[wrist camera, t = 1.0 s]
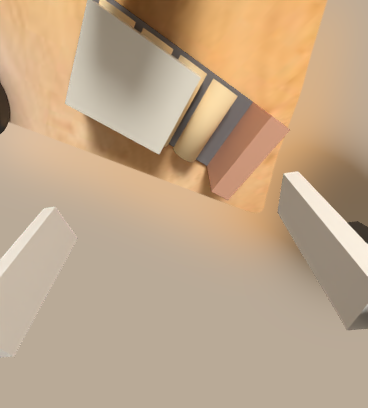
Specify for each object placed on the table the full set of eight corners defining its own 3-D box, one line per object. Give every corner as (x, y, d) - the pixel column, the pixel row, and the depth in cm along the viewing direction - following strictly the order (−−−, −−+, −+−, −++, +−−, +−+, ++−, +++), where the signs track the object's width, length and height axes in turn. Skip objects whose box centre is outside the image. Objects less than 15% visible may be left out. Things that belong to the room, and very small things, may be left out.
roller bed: (70, 87, 30) (54, 91, 26) (93, -15, 24) (75, -28, 20) (220, 172, 38) (223, 184, 34) (266, 112, 32) (277, 120, 28)
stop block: (206, 164, 37) (211, 191, 30) (251, 101, 31) (271, 116, 23) (220, 172, 38) (227, 200, 31) (266, 112, 32) (290, 129, 24)
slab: (79, 97, 27) (64, 103, 23) (102, 5, 21) (87, -3, 18) (162, 143, 30) (159, 154, 27) (199, 74, 25) (200, 77, 22)
